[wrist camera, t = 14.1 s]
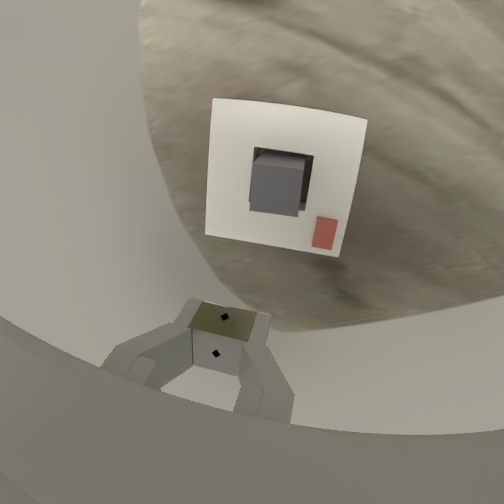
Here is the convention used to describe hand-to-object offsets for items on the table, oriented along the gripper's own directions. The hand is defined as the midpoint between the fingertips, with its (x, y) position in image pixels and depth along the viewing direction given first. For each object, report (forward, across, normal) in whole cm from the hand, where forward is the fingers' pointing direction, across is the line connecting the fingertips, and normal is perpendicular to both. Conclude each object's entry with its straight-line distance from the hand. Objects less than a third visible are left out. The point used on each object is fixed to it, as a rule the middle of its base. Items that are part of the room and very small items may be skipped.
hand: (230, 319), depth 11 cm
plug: (+22, -1, 0) cm, 22 cm away
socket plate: (+22, -1, 0) cm, 22 cm away
